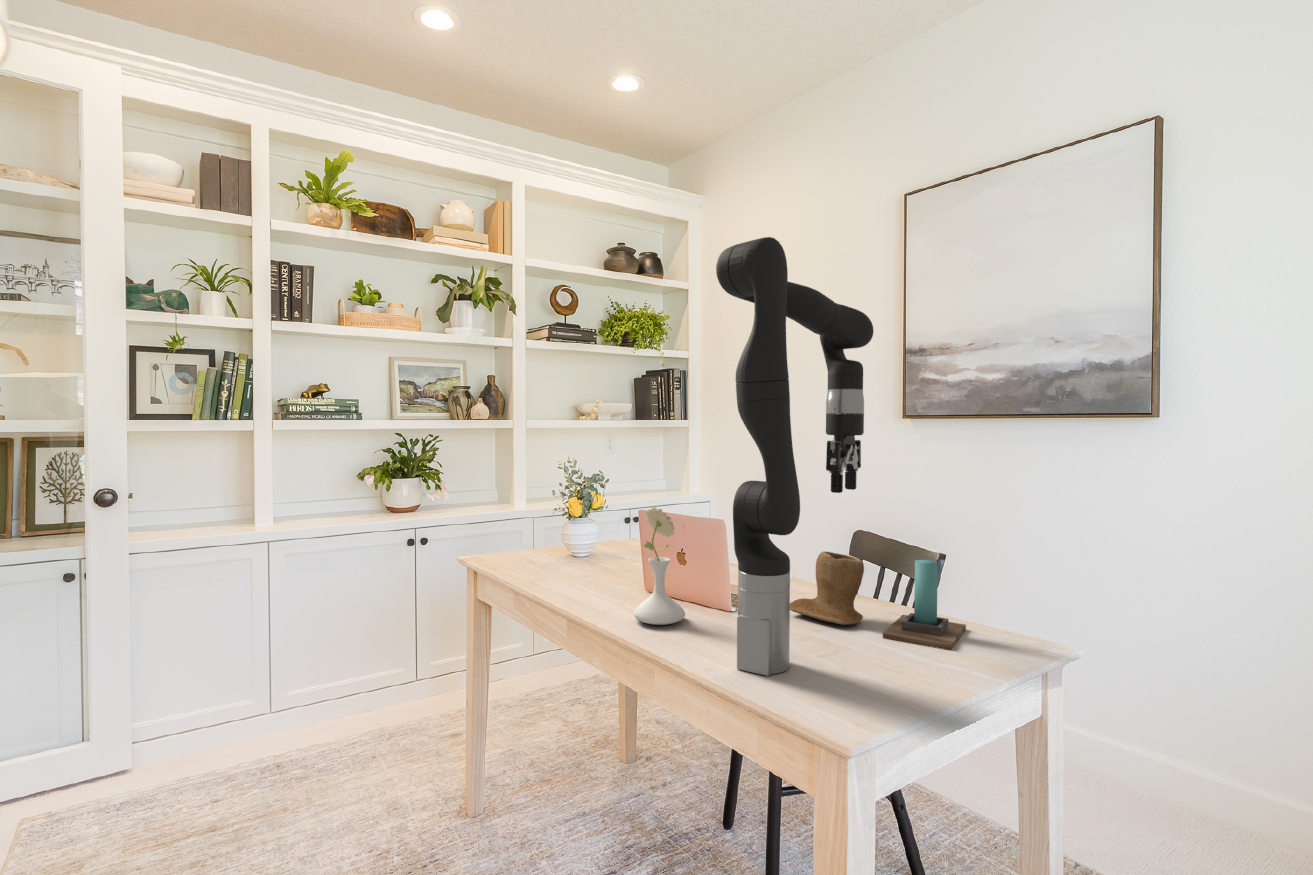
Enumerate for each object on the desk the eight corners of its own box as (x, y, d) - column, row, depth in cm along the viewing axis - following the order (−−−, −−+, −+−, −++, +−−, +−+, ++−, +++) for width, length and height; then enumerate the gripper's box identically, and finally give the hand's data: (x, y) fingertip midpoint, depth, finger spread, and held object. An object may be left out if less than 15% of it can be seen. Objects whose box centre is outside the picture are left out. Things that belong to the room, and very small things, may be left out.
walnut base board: (951, 650, 128) (951, 635, 128) (882, 637, 136) (882, 624, 135) (965, 629, 142) (965, 616, 141) (902, 618, 149) (902, 606, 149)
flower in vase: (693, 625, 143) (694, 510, 143) (644, 631, 139) (644, 512, 139) (670, 610, 155) (670, 503, 155) (624, 615, 151) (624, 505, 151)
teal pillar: (934, 633, 135) (935, 565, 135) (911, 629, 138) (912, 562, 137) (938, 627, 139) (939, 561, 139) (916, 624, 141) (917, 558, 141)
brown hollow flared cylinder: (875, 621, 147) (875, 554, 147) (843, 632, 139) (844, 561, 139) (817, 607, 159) (818, 544, 158) (786, 616, 151) (786, 550, 151)
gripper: (838, 412, 144) (837, 487, 145) (814, 411, 133) (813, 492, 133) (873, 412, 140) (872, 489, 140) (851, 411, 128) (850, 494, 129)
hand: (843, 490), depth 137 cm, fingers open, 8 cm apart
